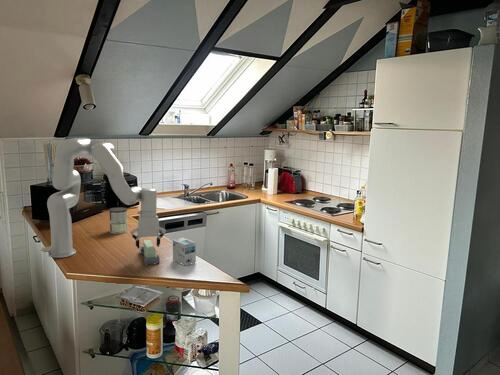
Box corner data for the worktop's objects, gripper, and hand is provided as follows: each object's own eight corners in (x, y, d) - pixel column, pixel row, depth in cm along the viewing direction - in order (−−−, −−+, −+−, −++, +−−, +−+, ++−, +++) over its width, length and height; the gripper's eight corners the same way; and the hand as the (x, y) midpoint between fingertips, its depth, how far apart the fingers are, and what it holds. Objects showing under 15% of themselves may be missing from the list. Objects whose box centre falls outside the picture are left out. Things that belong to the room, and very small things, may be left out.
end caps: (145, 265, 183) (145, 259, 183) (139, 252, 201) (139, 246, 201) (159, 263, 186) (159, 257, 185) (152, 250, 204) (152, 245, 203)
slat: (148, 263, 186) (148, 250, 184) (143, 253, 200) (143, 240, 199) (155, 263, 187) (155, 249, 186) (150, 252, 201) (150, 239, 200)
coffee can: (106, 231, 236) (105, 209, 234) (120, 228, 244) (120, 206, 242) (116, 234, 230) (116, 211, 228) (131, 231, 239) (130, 208, 236)
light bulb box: (196, 263, 188) (196, 242, 187) (185, 266, 184) (185, 244, 182) (183, 257, 196) (183, 237, 194) (172, 260, 191) (172, 239, 189)
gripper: (131, 216, 183) (130, 250, 186) (167, 214, 190) (166, 247, 193) (129, 212, 190) (129, 245, 192) (164, 211, 197) (163, 243, 199)
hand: (148, 246), depth 193 cm, fingers open, 9 cm apart
